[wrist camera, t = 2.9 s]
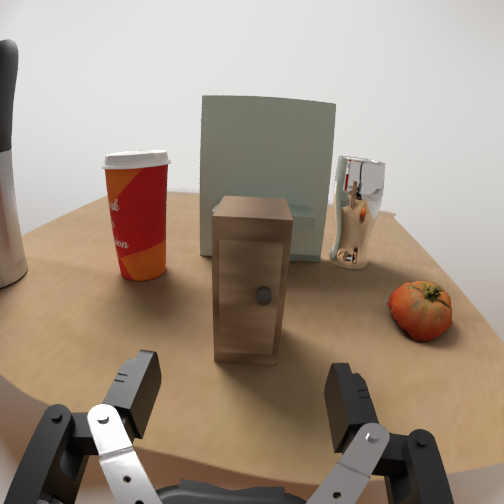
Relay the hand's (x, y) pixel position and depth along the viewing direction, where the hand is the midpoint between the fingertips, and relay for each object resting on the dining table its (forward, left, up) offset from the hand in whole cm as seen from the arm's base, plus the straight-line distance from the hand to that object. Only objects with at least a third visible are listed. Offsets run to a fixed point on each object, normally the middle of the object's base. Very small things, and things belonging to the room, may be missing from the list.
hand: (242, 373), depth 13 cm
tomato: (+18, +14, -7) cm, 24 cm away
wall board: (+1, +29, -7) cm, 30 cm away
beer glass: (+14, +30, -7) cm, 34 cm away
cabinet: (0, +11, -7) cm, 13 cm away
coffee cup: (-14, +23, -7) cm, 28 cm away
